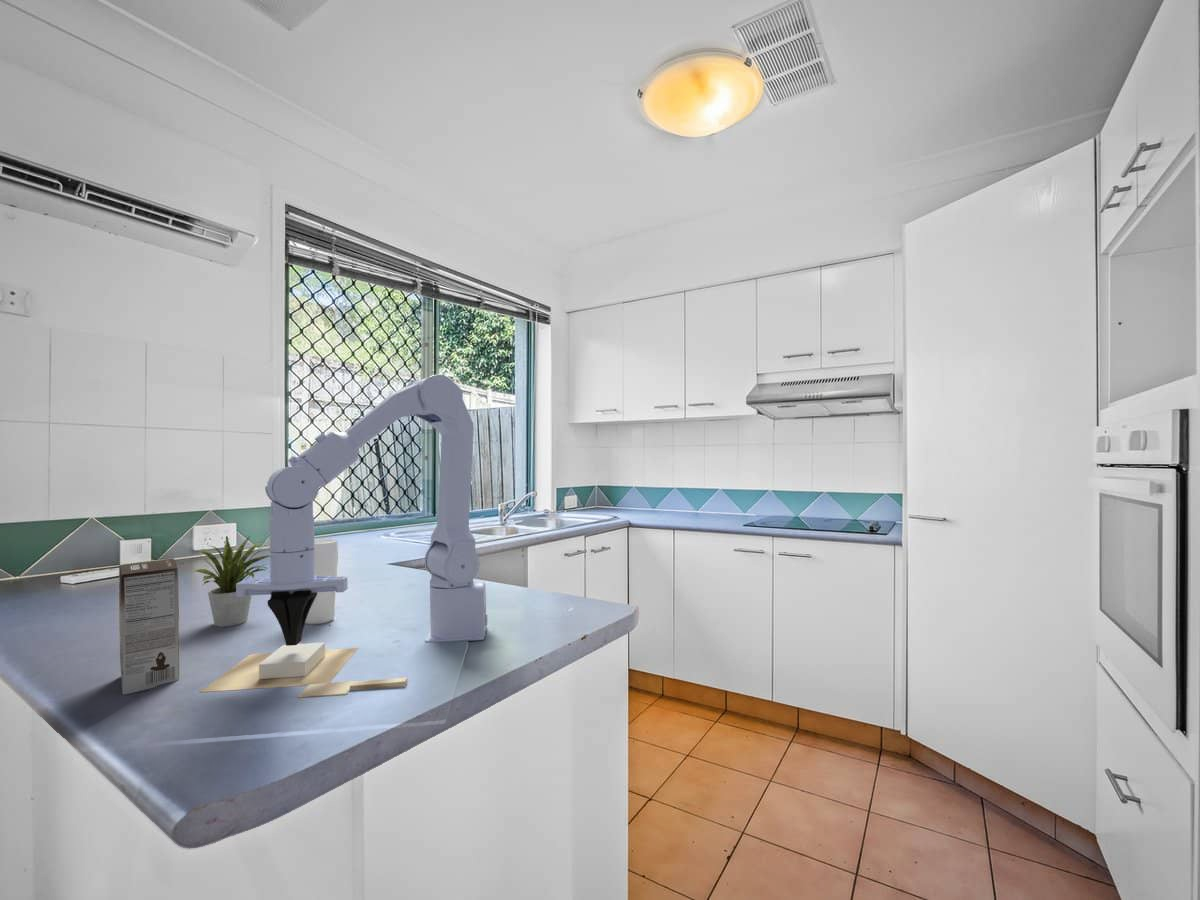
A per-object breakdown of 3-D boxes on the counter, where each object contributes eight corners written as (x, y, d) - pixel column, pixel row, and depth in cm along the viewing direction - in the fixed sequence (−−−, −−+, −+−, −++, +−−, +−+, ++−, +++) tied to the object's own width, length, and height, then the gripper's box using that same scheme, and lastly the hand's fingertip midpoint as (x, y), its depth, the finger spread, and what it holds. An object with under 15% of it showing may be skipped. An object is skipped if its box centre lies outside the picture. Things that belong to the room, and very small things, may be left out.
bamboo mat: (358, 650, 90) (358, 647, 90) (328, 686, 76) (328, 683, 76) (250, 656, 88) (250, 654, 88) (199, 695, 74) (199, 692, 74)
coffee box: (119, 676, 81) (118, 563, 81) (175, 664, 85) (173, 557, 85) (121, 696, 74) (119, 573, 74) (181, 682, 78) (180, 566, 78)
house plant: (241, 636, 98) (240, 542, 98) (162, 637, 98) (161, 542, 98) (288, 613, 112) (287, 530, 112) (219, 613, 112) (218, 531, 112)
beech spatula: (409, 680, 78) (409, 673, 78) (403, 693, 74) (403, 685, 74) (308, 689, 76) (308, 681, 76) (297, 702, 72) (296, 694, 72)
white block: (325, 642, 87) (283, 644, 86) (305, 661, 79) (258, 664, 78) (325, 656, 86) (283, 658, 86) (305, 676, 79) (259, 679, 78)
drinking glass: (307, 616, 109) (306, 539, 109) (344, 615, 110) (343, 538, 110) (291, 627, 103) (290, 544, 103) (330, 626, 103) (329, 543, 103)
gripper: (353, 543, 87) (354, 631, 87) (251, 546, 85) (253, 637, 85) (338, 551, 80) (339, 647, 80) (227, 555, 78) (228, 653, 78)
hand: (293, 643), depth 82 cm, fingers closed
